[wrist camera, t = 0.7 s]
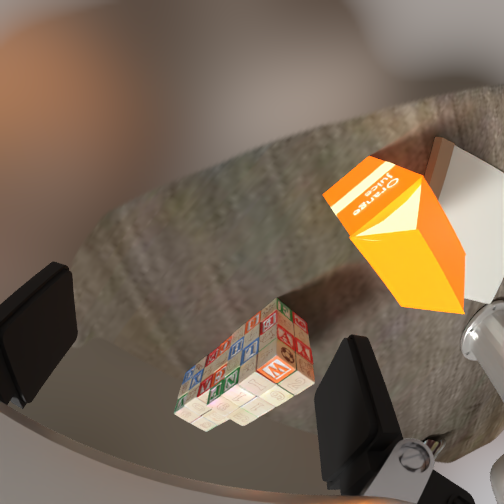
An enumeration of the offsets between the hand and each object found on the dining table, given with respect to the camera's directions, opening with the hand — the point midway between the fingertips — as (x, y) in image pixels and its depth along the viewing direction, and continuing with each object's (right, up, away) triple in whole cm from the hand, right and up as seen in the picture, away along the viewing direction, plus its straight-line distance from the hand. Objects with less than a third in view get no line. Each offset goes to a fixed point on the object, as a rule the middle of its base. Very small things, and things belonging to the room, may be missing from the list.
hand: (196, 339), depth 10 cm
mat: (+34, +5, +27) cm, 44 cm away
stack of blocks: (0, -12, +37) cm, 39 cm away
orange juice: (+16, +9, +27) cm, 32 cm away
